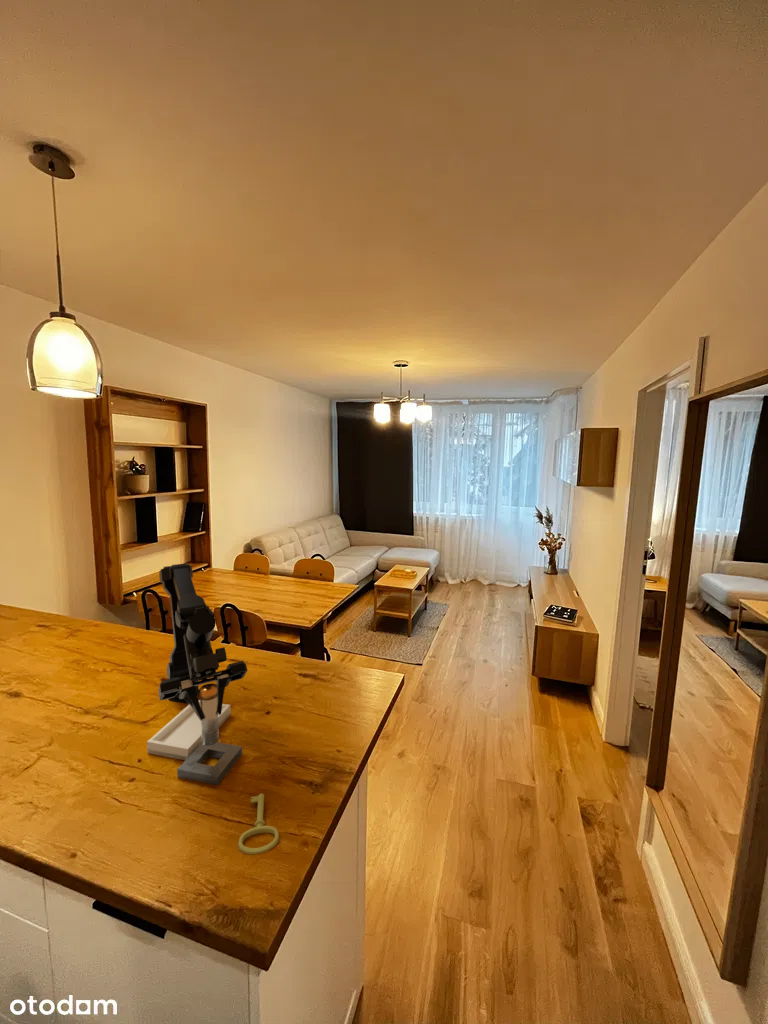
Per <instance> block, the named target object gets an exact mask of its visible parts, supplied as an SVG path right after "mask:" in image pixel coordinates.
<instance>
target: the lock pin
mask: <svg viewBox="0 0 768 1024" xmlns="http://www.w3.org/2000/svg"><path fill="white" fill-rule="evenodd" d="M216 684H217V683H212V682H209V683H205V684H202V686H201V687H200V688H199V689H200V693H199V700H200V704H201V711H202V717H203V719H202V720H201V732H202V744H203V745H205V746H210V745H213V744H215V743H216V742H219V740H220V739H219V738H220V737H219V736H220V735H219V733H220V731H219V728H218V696H217V685H216Z"/></svg>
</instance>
